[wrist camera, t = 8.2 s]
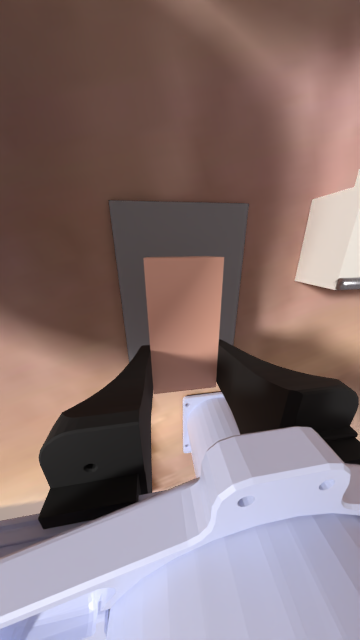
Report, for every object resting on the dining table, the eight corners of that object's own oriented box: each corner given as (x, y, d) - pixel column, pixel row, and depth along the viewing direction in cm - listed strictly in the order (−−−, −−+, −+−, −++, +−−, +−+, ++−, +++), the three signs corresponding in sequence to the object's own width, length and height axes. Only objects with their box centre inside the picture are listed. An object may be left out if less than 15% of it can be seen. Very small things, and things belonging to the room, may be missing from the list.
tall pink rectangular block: (203, 361, 15) (215, 386, 12) (153, 366, 14) (153, 394, 12) (207, 256, 12) (224, 257, 9) (145, 257, 12) (143, 258, 9)
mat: (228, 372, 22) (230, 375, 21) (132, 382, 20) (132, 385, 20) (246, 204, 15) (248, 203, 15) (109, 201, 14) (108, 200, 14)
